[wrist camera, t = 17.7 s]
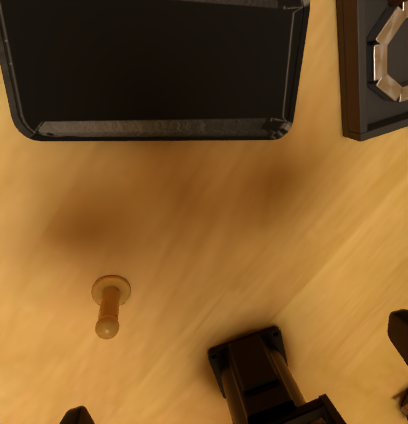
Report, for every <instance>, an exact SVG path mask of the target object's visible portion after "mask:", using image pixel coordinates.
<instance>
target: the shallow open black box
mask: <svg viewBox="0 0 408 424" xmlns="http://www.w3.org/2000/svg"><path fill="white" fill-rule="evenodd" d="M389 7H391V5H390V6H389V5H388V0H337V19H338V38H339V58H340V78H341V97H342V117H343V135H344V136H345V137H348V138H351V139H354V140H357V141H364V140H367V139H370V138H373V137H376V136H379V135H382V134H385V133H389V132H392V131H395V130H398V129H401V128H404V127H407V126H408V100H406V101H403V102H400V103H399V102H391V101H385V100H384V99H383V98H382V97H380V96H379V95H378V94H377V93H375V92H374V91H373V90H372V89H370V88H369V87H368V86H367V83H368V81H367V73H366V46H367V45H369V44H368V43H367V42H366V39H367V37H368V36H369V34H370V33H371V31H372V30H373V28H374V27H375V25H376V23H377V22H378V20H379V19H380V17H381V16H382V14H383V13H384V11H385V10H386V8H389ZM387 74H389V75H390V76H391V77H392V78H393V79H394V80H396V81H397V82H398V83H399V84H400V83H404V82H407V81H408V19H405V20H404V22H403V23H402V25H401V26H400V28H399V29H398V31H397V32H396V34H395V35H394V37H393V38H392V40H391V41H390V43H389V44H388V66H387Z"/></svg>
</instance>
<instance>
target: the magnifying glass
mask: <svg viewBox="0 0 408 424" xmlns="http://www.w3.org/2000/svg"><path fill="white" fill-rule="evenodd" d="M388 5H389V6H390V5H391V7H389V8H386V10H385V11H384V13H383V14H382V16H381V17H380V19H379V20H378V22H377V23H376V25H375V27H374V28H373V30H372V31H371V33H370V34H369V36H368V37H367V39H366V42H367V43H368V44H369V45H367V46H366V73H367V81H368V83H367V86H368V87H369V88H370V89H372V90H373V91H374V92H375V93H377V94H378V95H379V96H380V97H382V98H383V99H384V100H385V101H391V102H399V103H400V102H403V101H406V100H408V81H407V82H404V83H400V84H399V83H398V82H397V81H396V80H394V79H393V78H392V77H391V76H390V75H389V74H387V66H388V44H389V43H390V41H391V40H392V38H393V37H394V35H395V34H396V32H397V31H398V29H399V28H400V26H401V25H402V23H403V22H404V20H405V19H408V0H388Z"/></svg>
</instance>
